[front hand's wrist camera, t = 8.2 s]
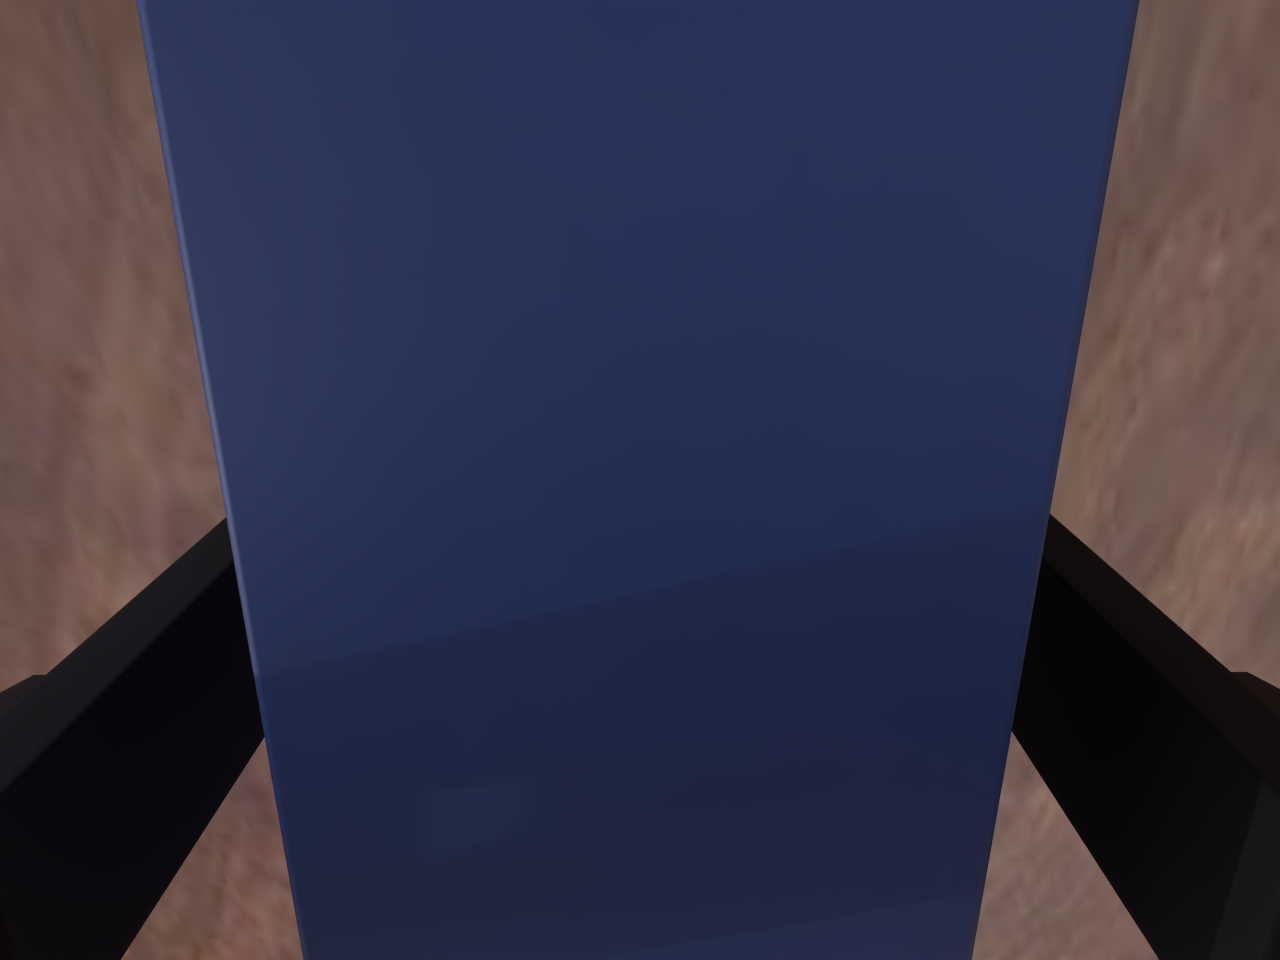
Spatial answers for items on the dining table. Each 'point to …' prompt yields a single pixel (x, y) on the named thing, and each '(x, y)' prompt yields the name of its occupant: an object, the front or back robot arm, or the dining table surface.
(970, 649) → the bar
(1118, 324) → the dining table surface
